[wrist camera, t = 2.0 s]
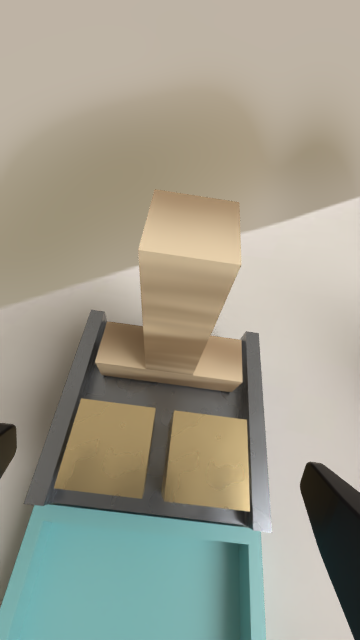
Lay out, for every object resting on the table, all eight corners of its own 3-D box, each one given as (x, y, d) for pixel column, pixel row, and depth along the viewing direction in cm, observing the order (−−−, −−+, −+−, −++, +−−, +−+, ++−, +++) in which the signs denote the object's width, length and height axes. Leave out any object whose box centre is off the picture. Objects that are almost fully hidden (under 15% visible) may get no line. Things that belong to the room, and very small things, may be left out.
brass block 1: (144, 491, 15) (142, 498, 11) (76, 483, 15) (53, 488, 11) (154, 420, 17) (155, 408, 13) (95, 412, 17) (81, 398, 13)
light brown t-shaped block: (231, 392, 18) (348, 280, 7) (101, 375, 18) (25, 233, 7) (231, 354, 20) (327, 215, 9) (112, 337, 19) (62, 174, 9)
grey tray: (240, 515, 18) (272, 532, 13) (58, 494, 17) (23, 503, 13) (237, 359, 24) (258, 333, 19) (103, 341, 24) (91, 309, 19)
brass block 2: (227, 501, 15) (249, 511, 11) (160, 493, 15) (163, 501, 11) (227, 429, 17) (246, 419, 14) (169, 422, 17) (174, 410, 13)
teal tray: (255, 811, 12) (278, 885, 10) (-40, 786, 12) (-83, 858, 9) (247, 521, 18) (260, 529, 16) (49, 498, 17) (34, 502, 15)
